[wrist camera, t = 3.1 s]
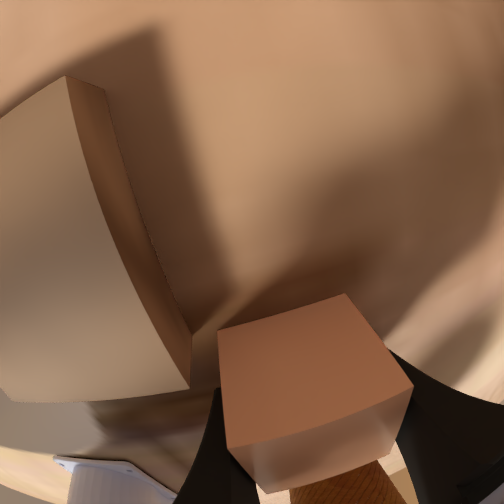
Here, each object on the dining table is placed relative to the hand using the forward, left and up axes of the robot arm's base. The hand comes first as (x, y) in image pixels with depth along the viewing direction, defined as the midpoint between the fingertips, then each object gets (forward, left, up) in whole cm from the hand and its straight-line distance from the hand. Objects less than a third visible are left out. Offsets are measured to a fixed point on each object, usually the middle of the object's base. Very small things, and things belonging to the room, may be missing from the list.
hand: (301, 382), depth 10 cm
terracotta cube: (0, 0, -2) cm, 2 cm away
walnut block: (+7, +8, -2) cm, 11 cm away
